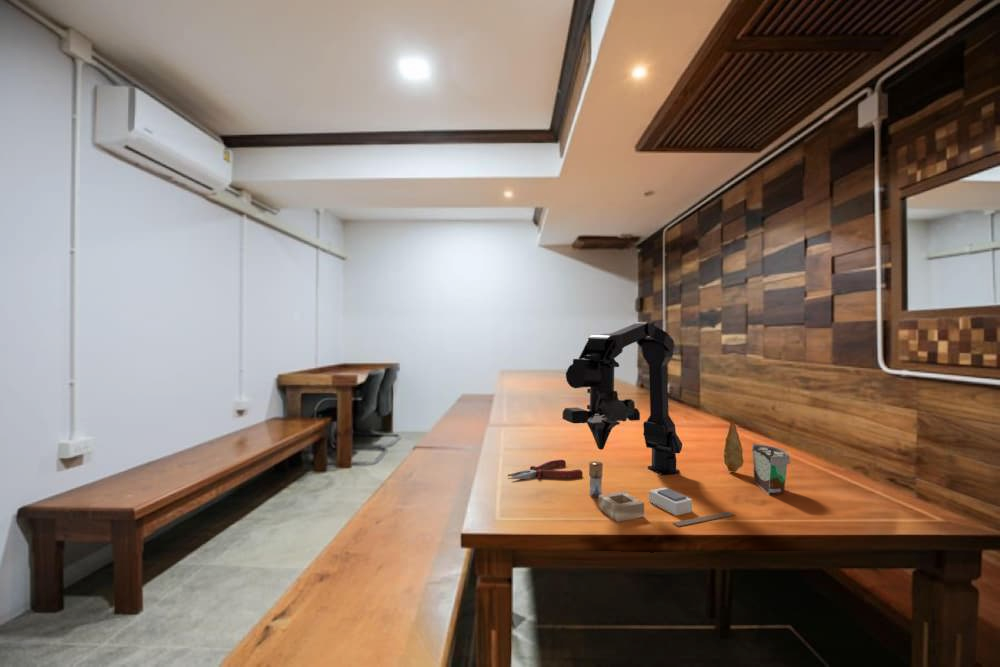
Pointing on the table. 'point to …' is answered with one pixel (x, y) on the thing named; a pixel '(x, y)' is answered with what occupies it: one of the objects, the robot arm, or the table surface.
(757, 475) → the food container
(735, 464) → the stone tool
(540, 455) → the table surface
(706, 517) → the bar
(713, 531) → the table surface
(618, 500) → the socket block
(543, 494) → the table surface
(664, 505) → the stud finder
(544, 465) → the pliers
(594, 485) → the flashlight
